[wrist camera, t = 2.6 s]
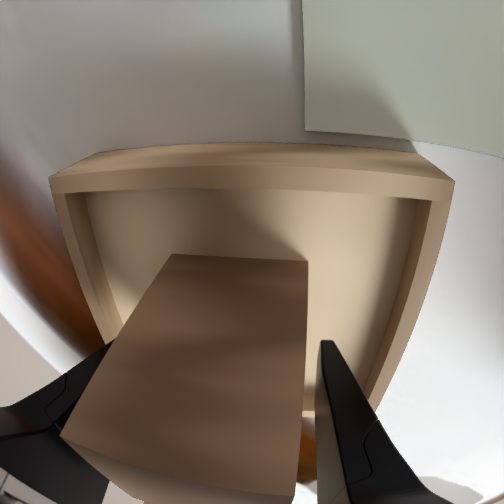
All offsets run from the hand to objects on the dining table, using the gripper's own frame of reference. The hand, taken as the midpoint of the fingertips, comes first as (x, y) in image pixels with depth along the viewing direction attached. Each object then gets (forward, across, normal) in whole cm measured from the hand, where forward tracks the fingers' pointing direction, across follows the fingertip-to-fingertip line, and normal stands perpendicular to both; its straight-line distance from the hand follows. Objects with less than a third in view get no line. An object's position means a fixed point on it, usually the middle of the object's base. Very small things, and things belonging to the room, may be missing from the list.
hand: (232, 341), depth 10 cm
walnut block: (+2, 0, 0) cm, 2 cm away
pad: (+4, -6, -10) cm, 12 cm away
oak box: (+4, 0, 0) cm, 4 cm away
